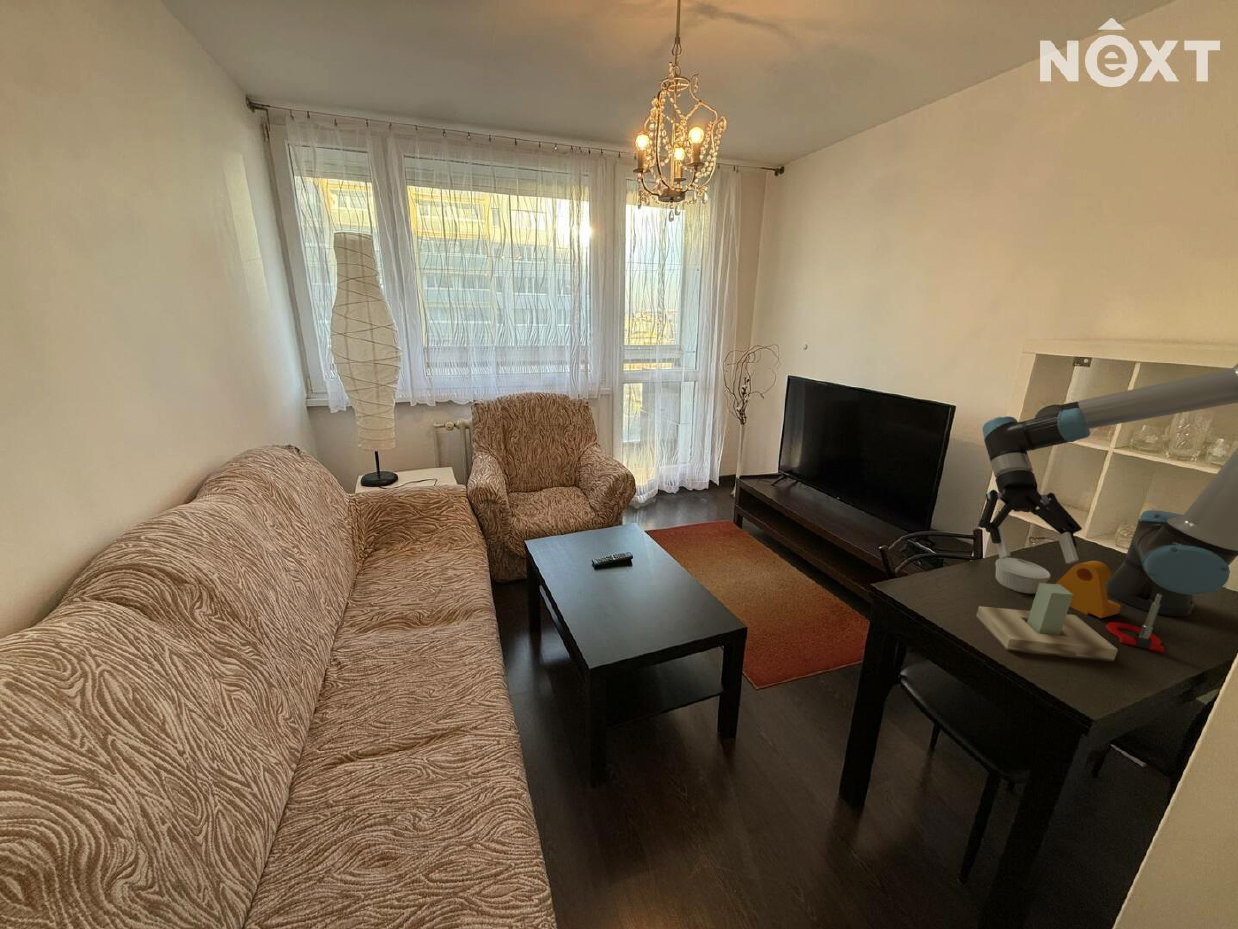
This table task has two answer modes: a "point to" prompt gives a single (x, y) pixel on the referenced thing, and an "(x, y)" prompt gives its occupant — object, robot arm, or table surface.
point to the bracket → (1090, 589)
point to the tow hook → (1140, 630)
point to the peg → (1049, 609)
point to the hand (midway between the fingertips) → (1038, 559)
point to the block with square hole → (1045, 636)
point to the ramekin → (1020, 575)
